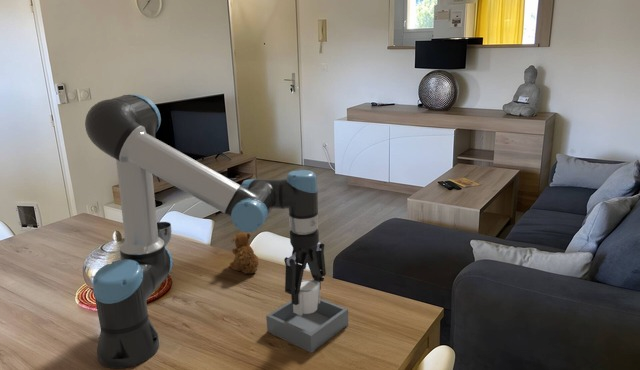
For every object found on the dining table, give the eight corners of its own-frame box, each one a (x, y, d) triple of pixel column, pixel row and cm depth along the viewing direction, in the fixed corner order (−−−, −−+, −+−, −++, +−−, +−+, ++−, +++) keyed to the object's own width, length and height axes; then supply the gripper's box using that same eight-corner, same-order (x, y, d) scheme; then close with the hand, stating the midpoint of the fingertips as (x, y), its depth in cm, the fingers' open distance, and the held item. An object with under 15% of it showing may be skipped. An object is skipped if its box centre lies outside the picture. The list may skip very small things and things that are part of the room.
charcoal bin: (311, 352, 125) (310, 335, 124) (267, 331, 135) (266, 315, 134) (348, 324, 137) (348, 309, 136) (305, 307, 147) (304, 292, 145)
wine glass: (180, 262, 179) (175, 224, 175) (162, 270, 173) (157, 231, 169) (165, 257, 184) (160, 220, 179) (148, 266, 177) (142, 227, 173)
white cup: (316, 316, 130) (316, 292, 128) (292, 314, 132) (290, 290, 130) (322, 302, 137) (321, 280, 135) (298, 301, 138) (297, 278, 136)
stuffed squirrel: (255, 259, 180) (253, 225, 177) (265, 275, 168) (262, 239, 164) (228, 263, 177) (225, 229, 173) (236, 280, 164) (233, 244, 161)
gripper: (289, 245, 118) (293, 328, 125) (338, 221, 133) (339, 297, 139) (267, 238, 123) (272, 318, 129) (317, 215, 137) (319, 289, 144)
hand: (307, 307), depth 134 cm, fingers closed on white cup, 7 cm apart
